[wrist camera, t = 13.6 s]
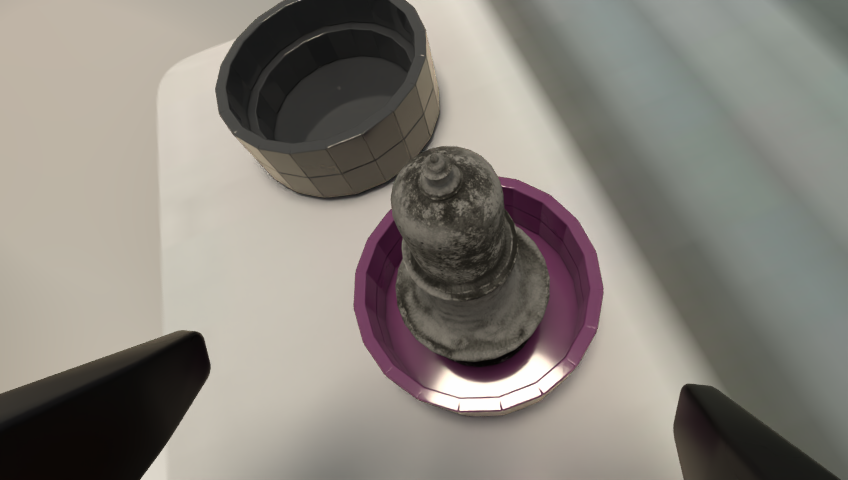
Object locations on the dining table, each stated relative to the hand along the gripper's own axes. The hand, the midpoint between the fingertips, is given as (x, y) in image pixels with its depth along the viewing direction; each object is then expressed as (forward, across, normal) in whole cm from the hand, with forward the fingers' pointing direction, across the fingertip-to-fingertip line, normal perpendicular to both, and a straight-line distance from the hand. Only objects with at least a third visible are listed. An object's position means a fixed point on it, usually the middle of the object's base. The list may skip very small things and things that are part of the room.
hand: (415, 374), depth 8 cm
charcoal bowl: (+19, +9, -3) cm, 21 cm away
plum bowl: (+11, 0, +5) cm, 12 cm away
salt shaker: (+11, 0, +5) cm, 12 cm away
